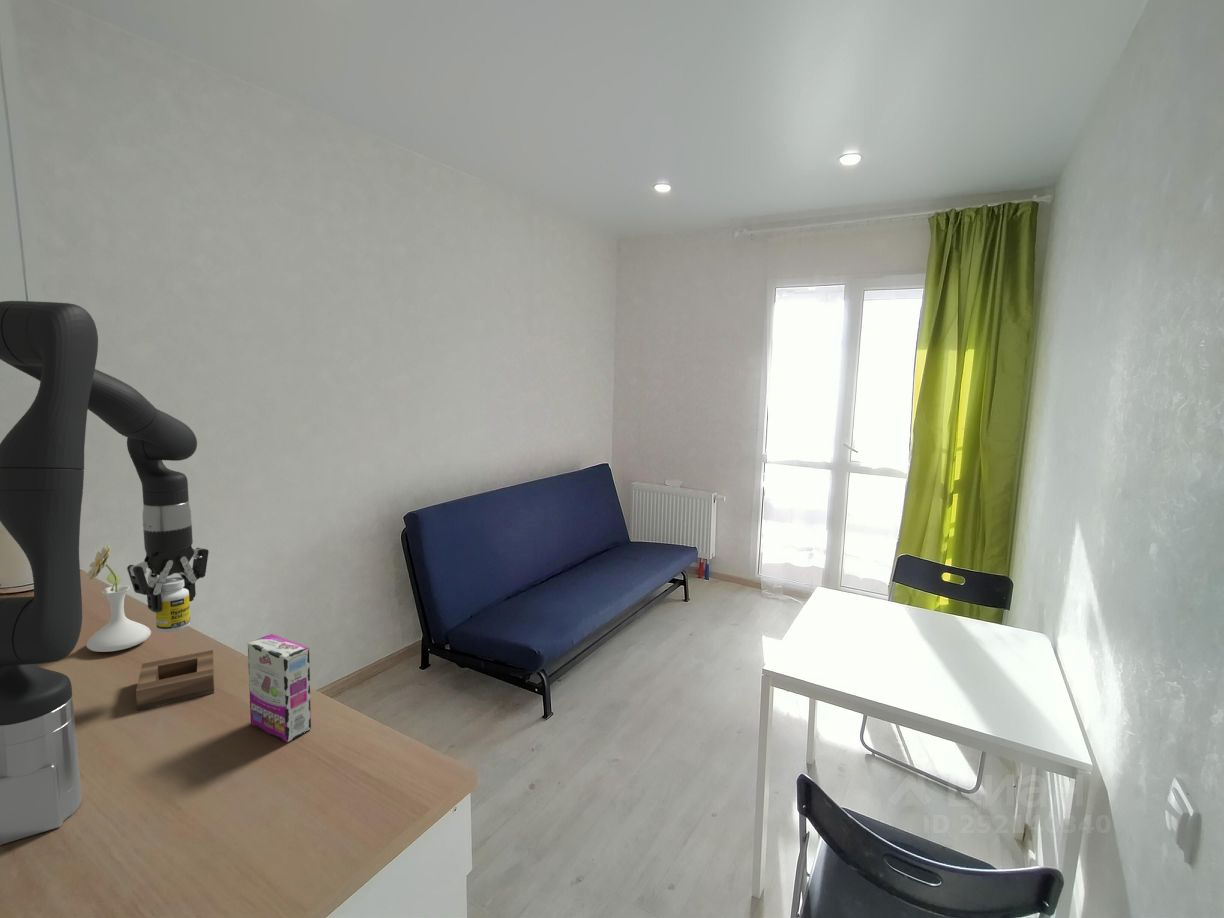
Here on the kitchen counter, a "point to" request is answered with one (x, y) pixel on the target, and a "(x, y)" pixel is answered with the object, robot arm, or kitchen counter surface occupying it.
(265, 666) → the candy bar box
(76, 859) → the kitchen counter surface
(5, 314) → the robot arm
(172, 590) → the supplement bottle
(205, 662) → the socket block
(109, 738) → the kitchen counter surface
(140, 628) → the flower in vase
